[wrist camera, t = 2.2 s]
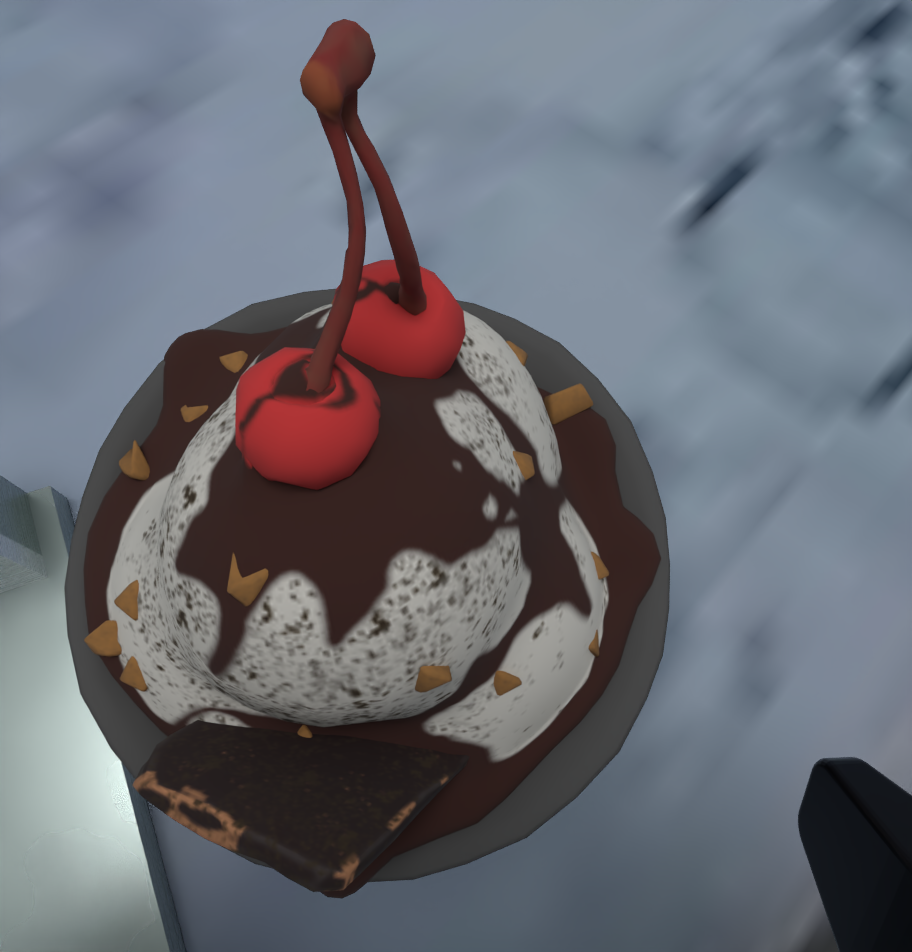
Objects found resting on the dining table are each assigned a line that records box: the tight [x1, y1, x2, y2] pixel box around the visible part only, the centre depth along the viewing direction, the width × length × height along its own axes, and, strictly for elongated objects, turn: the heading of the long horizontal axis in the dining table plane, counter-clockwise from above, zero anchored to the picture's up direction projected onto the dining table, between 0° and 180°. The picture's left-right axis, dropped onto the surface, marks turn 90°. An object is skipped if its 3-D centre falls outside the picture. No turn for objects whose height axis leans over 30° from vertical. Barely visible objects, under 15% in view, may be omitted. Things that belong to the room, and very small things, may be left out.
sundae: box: [64, 19, 670, 898], centre depth 11 cm, size 7×7×15 cm
